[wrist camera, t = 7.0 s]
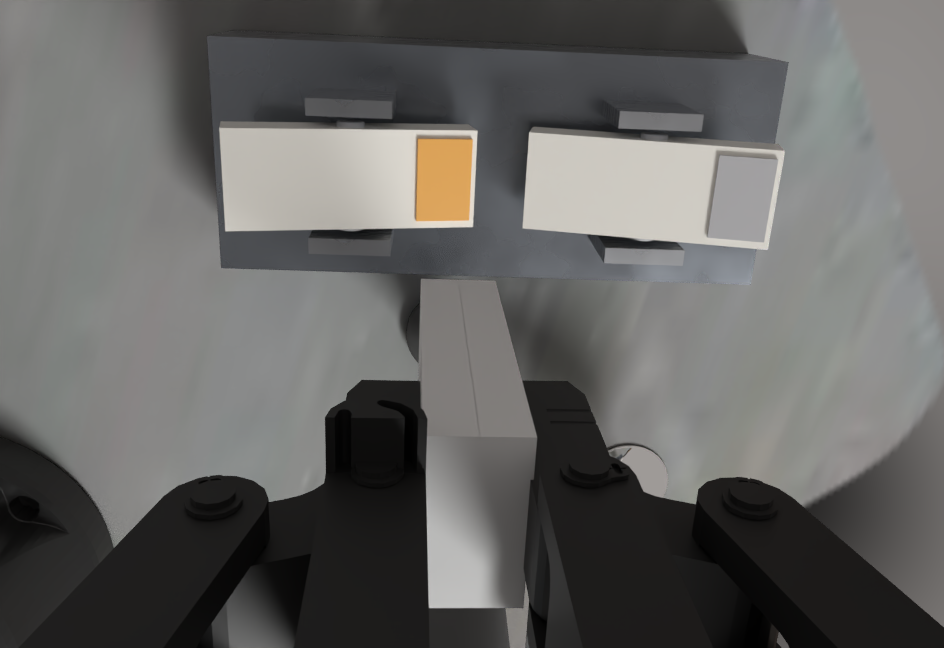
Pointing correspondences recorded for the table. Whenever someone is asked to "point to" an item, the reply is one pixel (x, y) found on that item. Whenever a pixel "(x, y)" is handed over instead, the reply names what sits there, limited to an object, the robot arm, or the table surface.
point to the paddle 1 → (347, 175)
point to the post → (460, 629)
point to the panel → (489, 141)
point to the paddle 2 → (652, 187)
